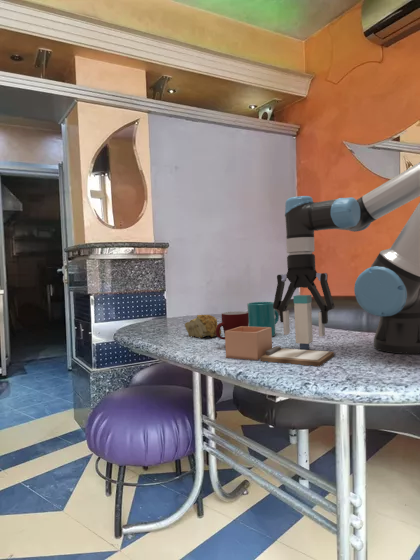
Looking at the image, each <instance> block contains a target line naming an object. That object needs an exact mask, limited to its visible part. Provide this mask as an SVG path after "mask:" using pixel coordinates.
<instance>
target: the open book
mask: <svg viewBox="0 0 420 560" xmlns="http://www.w3.org/2000/svg"><path fill="white" fill-rule="evenodd" d="M333 357H335V351H329V350H328V351H326V350H314V349H312V350H310V349H309V350H300V348H299V349H298V348H286V347H285V348H284V347H283V348H282V347H281V346H280V345H279V346H278V345H277V346H274V347H272V349H269V350H267V351H266V355H264V356H261V357H260V360H259V361H260V362H264V361H268V362H267V363H275V362H278V363H279V364H286V363H291V364H290V365H298V364H301V365H300V366H309V365H313V366H312V367H321V366H323V363H324V364H325V363H326V362H328V361H329V360H331V358H333ZM320 365H321V366H320Z"/></svg>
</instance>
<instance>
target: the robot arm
mask: <svg viewBox="0 0 420 560" xmlns="http://www.w3.org/2000/svg"><path fill="white" fill-rule="evenodd" d="M419 197H420V162H418V163H416V164H414V165H413V166H412V167H409V168H408V169H406V170H404V171H402V172H401V173H399V174H397V175H396V176H394V177H393V178H391V179H389V180H387V181H385V182H384V183H382V184H380V185H379V186H377V187H376V188H374V189H372V190H371V191H369V192H367V193H366V194H363V195H362V196H361V197H359V198H358V199H356V198H355V197H339V198H335V199H330V200H323V201H316V202H314V199H313V197H312V196H310V195H298V196H292V197H289V198H287V199H286V201H285V208H284V210H285V211H284V212H285V213H284V217H285V230H286V231H285V232H286V233H285V234H286V237H285V238H286V253H287V254H288V255H287V256H286V263H287V264H286V265H287V272H286V273H285V274H284V273H283V274H282V273H281V274H277V276H276V279H277V281H276V282H277V284H276V291H275V294H274V300H273V302H274V304H273V308H274V309H275V310H276V311H278V312H279V320H280V323H283V336H287V335H289V334H291V330H290V329H291V327H290V310H287V308H288V306H289V304H290V302H291V299H292V298H293V296H294V293H295V292H296V290H297V289H298V288H303V289H306V288H307V289H308V291H309V292H310V293H311V294H310V295H311V296H312V297H313V299H314V301H315V302H316V304H317V306H318V308H319V309H320V311H319V312H318V313H317V315H318V318H317V319H318V337H324V336H326V330H325V328H326V326H325V325H327V324H328V323H329V316H328V315H329V313H328V312H329V311H330V310H334V309H335V302H334V300H333V296H332V292H331V288H330V286H329V283H328V275H329V274H328V273H327V272H323V273H320V272H317V270H316V255H315V254H314V252H315V251H316V250H315V232H316V231H317V232H318V231H325V230H341V231H350V232H360V231H364V230H366V229H367V228H368V227H369V226H370V225H371V224H372V223H373V222H375V221H376V220H379V219H380V218H382V217H383V216H386V215H388V214H389V213H391V212H393V211H395V210H396V209H399V208H400V207H402V206H404V205H406V204H408V203H409V202H411V201H413V200H415V199H417V198H419ZM357 276H358V277H357V278H356V280H355V283H354V287H353V289H354V290H353V291H354V296H355V299H356V303H358V305H359V307H360V308H361V309H363V310H364V311H365V312H367V313H368V314H369V315H371V316H372V315H373V316H374V317H375V316H376V317H379V321H378V325H377V328H376V331H375V334H374V338H373V348H374V349H375V350H377V351H378V350H379V351H382V352H387V353H394V354H410V355H412V354H415V355H416V354H417V355H418V354H420V202H419V203H418V204H417V206H416V207H415V209H414V210H413V213H412V214H411V215H410V216H409V218H408V220H407V221H406V223H405V225H404V226H403V228H402V229H401V231H400V232H399V234H398V236H397V237H396V239H395V240H394V242H393V244H392V245H391V247H390V248H387V249H383V250H381V251H379V253H378V254H377V256H376V258H375V259H374V261H373V263H372V264H371V266H370V267H368V268H366V269H364V271H362V272H361V273H360V274H359V275H357ZM316 279H317V280H318V281H319V283H320V286H321V287H320V288H321V290H322V293H323V297H324V299H323V297H322V295H321V294H320V291H319V290H318V288H317V286H316V283H315V280H316ZM287 280H288V281H289V282H290V283H289V285H288V287H287V291H286V293H285V294H284V297H283V293H284V289H285V285H286V282H287Z"/></svg>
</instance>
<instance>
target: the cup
mask: <svg viewBox="0 0 420 560" xmlns="http://www.w3.org/2000/svg"><path fill="white" fill-rule="evenodd" d="M273 304H274V301H256V302H253V301H252V302H248V303H247V304H246V305H247V312H248V316H249V323H248V326H250V327H271V330H272V338H273V337H275V336H276V333H277V332H276V325H277V324H278V322H279V320H280V314H279V311H278V310H277V309H274V308H273Z"/></svg>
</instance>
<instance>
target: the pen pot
mask: <svg viewBox="0 0 420 560" xmlns="http://www.w3.org/2000/svg"><path fill="white" fill-rule="evenodd" d="M224 337H225V340H224V344H225V345H224V346H225V358H226V359H235V360H236V359H238V360H248V359H249V360H248V361H260V360H259V359H260V357H261V356H264V355H266V351H267V350H269V349H272V348H273V337H272V330H271V327H250V326H240V327H237V328H234V329H230V330H227V331H225V335H224Z"/></svg>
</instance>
